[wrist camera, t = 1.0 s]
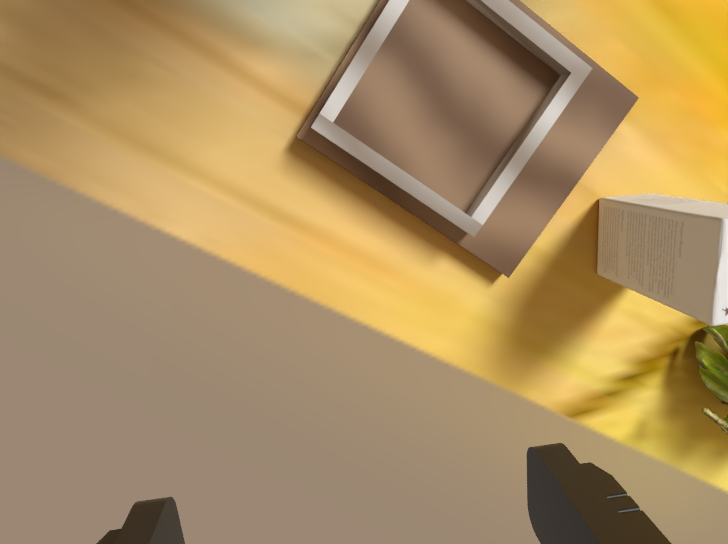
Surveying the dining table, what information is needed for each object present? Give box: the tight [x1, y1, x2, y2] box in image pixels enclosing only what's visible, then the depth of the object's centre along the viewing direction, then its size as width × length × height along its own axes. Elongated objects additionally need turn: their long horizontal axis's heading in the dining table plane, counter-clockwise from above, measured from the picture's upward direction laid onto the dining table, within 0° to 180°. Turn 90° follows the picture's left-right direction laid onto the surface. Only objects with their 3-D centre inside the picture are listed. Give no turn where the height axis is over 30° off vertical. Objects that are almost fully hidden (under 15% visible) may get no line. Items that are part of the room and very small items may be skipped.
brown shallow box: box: [296, 0, 638, 278], centre depth 35 cm, size 15×18×3 cm
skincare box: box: [597, 193, 728, 326], centre depth 33 cm, size 6×4×12 cm
